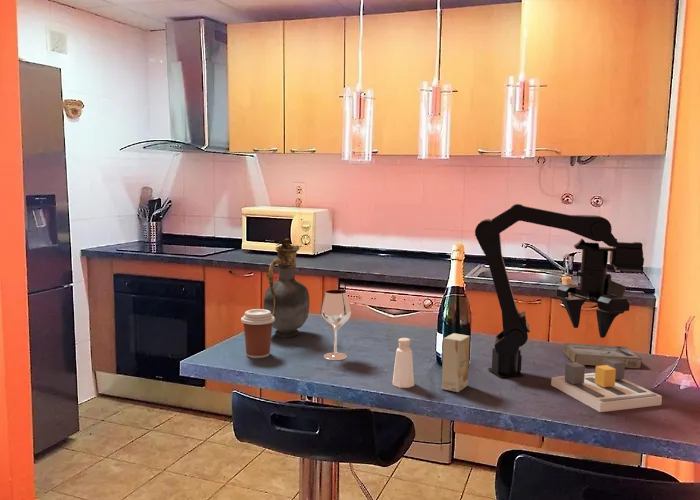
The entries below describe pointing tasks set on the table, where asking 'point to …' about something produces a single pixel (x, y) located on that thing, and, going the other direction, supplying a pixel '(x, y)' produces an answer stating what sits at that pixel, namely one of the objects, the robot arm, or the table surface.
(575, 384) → the panel
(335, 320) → the wineglass
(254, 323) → the coffee cup
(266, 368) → the table surface
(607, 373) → the block
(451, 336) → the skincare box
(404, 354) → the pepper shaker
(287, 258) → the pitcher
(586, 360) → the box
